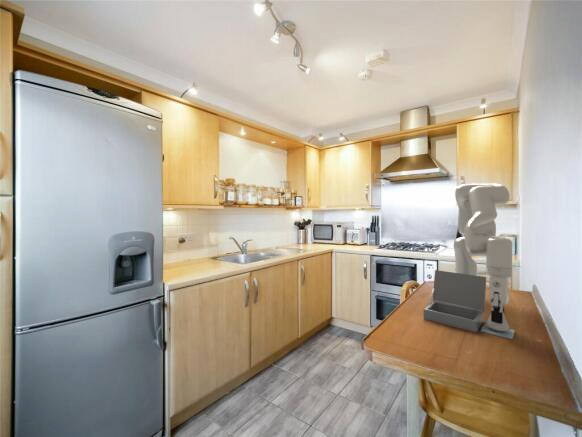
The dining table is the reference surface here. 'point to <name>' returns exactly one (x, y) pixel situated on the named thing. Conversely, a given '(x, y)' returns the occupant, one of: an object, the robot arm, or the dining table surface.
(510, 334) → the mat
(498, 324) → the flask
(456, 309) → the case
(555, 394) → the dining table surface
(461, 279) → the lid and stay
